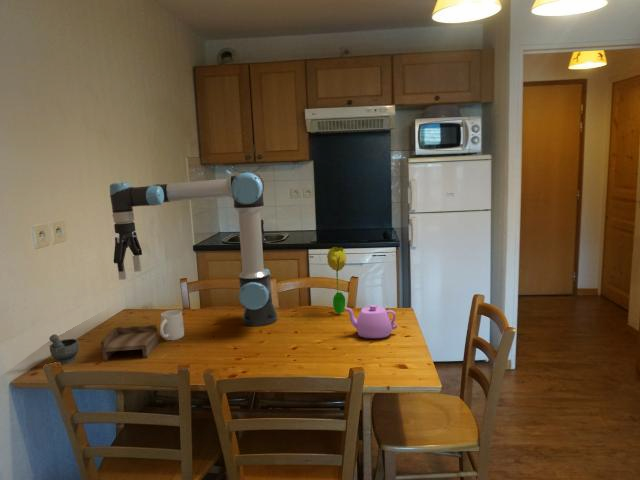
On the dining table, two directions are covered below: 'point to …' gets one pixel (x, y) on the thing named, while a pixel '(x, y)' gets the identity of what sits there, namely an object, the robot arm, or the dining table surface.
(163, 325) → the mug
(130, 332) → the shelf
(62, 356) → the mortar and pestle
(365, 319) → the teapot
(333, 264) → the flower
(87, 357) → the dining table surface
